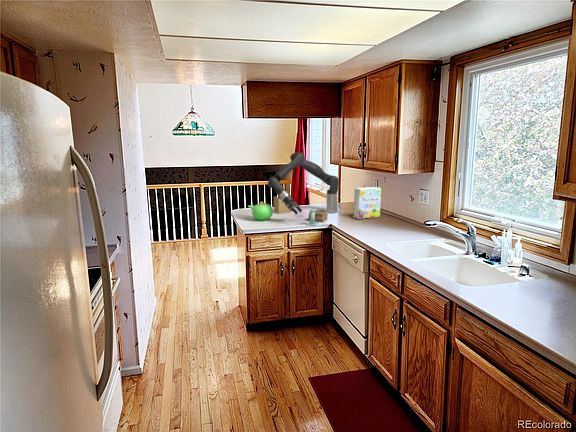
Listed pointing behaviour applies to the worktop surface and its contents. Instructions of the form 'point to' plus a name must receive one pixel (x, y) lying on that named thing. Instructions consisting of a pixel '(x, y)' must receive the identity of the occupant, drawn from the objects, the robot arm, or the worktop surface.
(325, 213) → the walnut box
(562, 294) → the worktop surface
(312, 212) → the teal piece
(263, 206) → the green teapot
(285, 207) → the sandwich container
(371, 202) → the snack box
